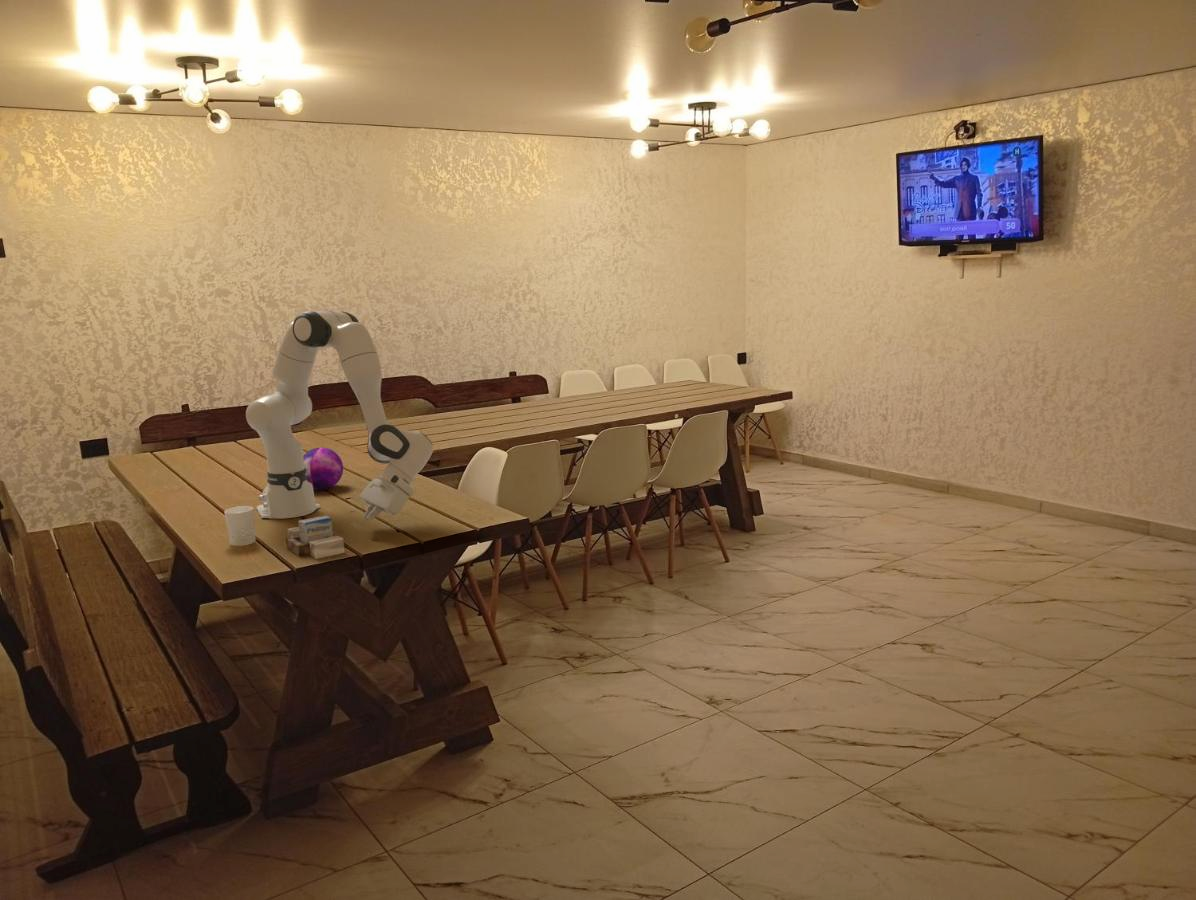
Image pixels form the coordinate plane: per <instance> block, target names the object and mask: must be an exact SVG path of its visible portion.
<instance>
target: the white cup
mask: <svg viewBox="0 0 1196 900" xmlns="http://www.w3.org/2000/svg"><path fill="white" fill-rule="evenodd" d="M224 518H225V523H226V529H227V534H228V536H229V544H230V545H231V546H233V547H243V546H248V545H249V544H250V545H252V544H254V543H256V521H255V509H254V506H251V505H241V506H240V505H239V506H234V507H229V508H227V509H225V510H224Z"/></svg>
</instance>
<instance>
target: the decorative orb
mask: <svg viewBox="0 0 1196 900" xmlns="http://www.w3.org/2000/svg"><path fill="white" fill-rule="evenodd" d="M303 457H304V466H305V468H306V471H307V481H308V482H309V483H311V484H312V486H313V490H320V491H323V490H329V489H330V488H333V487H334V486H336V485H337V484H338V483H339V482H340V480H341V479H342V476H343V473H344V464H343V460H342V458H341V457H340V455H339V454H338V453H337V452H336V451H334V450H332V449H330V448H327V447H315V448H313V449H310V450H308V451H307V452H306V453H305V454H303Z"/></svg>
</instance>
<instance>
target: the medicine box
mask: <svg viewBox="0 0 1196 900" xmlns="http://www.w3.org/2000/svg"><path fill="white" fill-rule="evenodd" d="M297 523H298V527H299V531H300V539H301V543H302V544H303V543H308V542H311V541H315V540H320V539H324V538H329V537H333V536H334V532H333V524H332V523H333V522H332V518H331V517H330V516H328V515H326V514H325V515H320V516H315V517H311V518H306V519H301V520H298V522H297Z"/></svg>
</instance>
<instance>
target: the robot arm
mask: <svg viewBox="0 0 1196 900" xmlns="http://www.w3.org/2000/svg"><path fill="white" fill-rule="evenodd" d="M283 334H284V335H283V337H282V338H281V342H280V345H279V347H278V350H277V354H276V358H275V361H274V364H273V367H272V372H271V373H272V375H273V377H274V379H275V380H276V387H275V388H276V389H275V391H274V392H273V393H271V394H268V395H263V396H261V397H259V398H257V399H256V400H254V401H252V402H251V403H250V404H249V405H248V406H247V408H246V410H245V419H246V422H247V424H248V425H249V426H250V428H251V429H252V430H254V431H256V432H257V434H258V436H259V438H260V439H261V441H262V444H263V446H264V447H263V448H264V451H265V455H266V462H267V463H266V464H267V470H268V471H267V472H266V473H267V475H266V482H267V484H266V486H265V488H264V489H263V491H262V494H259V495H258V499H259V503H263V504H259V505H256V511H257V510H258V511H257V512H258V514H259V516H260V515H261V516H260V518H261V517H262V518H269V519H290V518H291V519H292V518H299V517H303V516H307V515H309V514H312V513H314V512H315V511H317V510H318V509H320V508H321V505H320V503H316V497H315V494H314V493H315V492H314V489H313V486H312V484H311V483H309V482H308V481H307V471H306V468H305V466H304V457H303V456H304V449H303V448H304V447H303V445H302V443H301V442H300V441H298V440H297V439H296V438H295V436H294V433H293V431H292V427H291V426H293V425H296V424H297V425H298V424H300V423H301V422H303V421H304V420H305V419H307V418H308V417H309V416H310V415H311V413H312V410H313V402H312V399H311V397H310V396H309V383H310V382H309V381H310V378H311V375H312V371H313V369H314V368H313V367H314V364H315V360H316V357H317V353H318V351H319V348H324V349H325V348H328V349H329V348H334V349H335V350H336V352H337V355H338V359H339V362H340V365H341V368H342V371H343V372H344V376H345V378H346V379H347V380H346V381H347V382H348V383H349V386H350V387H351V390H352V391H353V392H354V394H355V397H356V399H357V401H358V403H359V405H360V409H361V412H362V415H363V418H364V422H365V425H366V428H367V432H368V433H367V434H368V438H367V445H366V447H367V448H366V449H367V453H368V456H369V457H370V458H371V459H372V460H373V461H374V462H376V463H377V464H387V465H386V467H385V468H384V469H383V471H382V472H381V474H380V475H379V476H378V477H377V478H374V479H372V480H370V482H369V483H368V484H367V485H366V486H365V488H364V489H363V490H362V491H361V493H360V494H359V500H361V501H362V502H364V503H365V504H367V507H366V510H365V513H364V514H363V515H362V519H364V520H366V521H368V522H369V523H371V522H372V521H373V520H374V519H375V518H376V517H377V516H379V515H380V514H381V513H382V512H385V513H387V514H389V515H392V516H396V515H398V514H399V513H400V511H401V510H403V508H404V506H405V505H406V503H407V502H408V501H409V499H410V497H413V496H414V494H415V492H416V491H415V488H414V487H413V485H412V484H413V482H414V480H416V479H415V478H416V476H417V475H418V473H419V472H421V471H422V470H423V468H424V467H425V466H426V465H427V463H428V461H429V460H430V458H431V456H432V454H433V452H434V444H433V443H432V441H431V440H430V439H429V437H428V436H427V435H425V434H424V433H423V432H422V431H419V430H408V429H407V430H406V429H402V428H399V427H396V426H394V425H391V424H389V423H388V419H387V416H386V411H385V410H384V406H383V403H382V397H381V388H382V381H383V380H382V378H383V373H382V366H381V361H380V357H379V354H378V351H377V348H376V345H375V343H374V341H373V339H372V337H371V335H370V333H369V331H368V329H367V327H366V326H365V325H364V324H363V323H360V322H359V320H358V318H357V317H356V316H355V315H353V314H351V313H349V312H346V311H337V310H327V309H325V310H307V311H304V312H301V313H299V314H298V315H297V316H296V317H295V318H294V320H293V321H291V322H290V323H289V325H288V326H287V328H286V330H285V331H284V333H283ZM262 518H261V519H262Z"/></svg>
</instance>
